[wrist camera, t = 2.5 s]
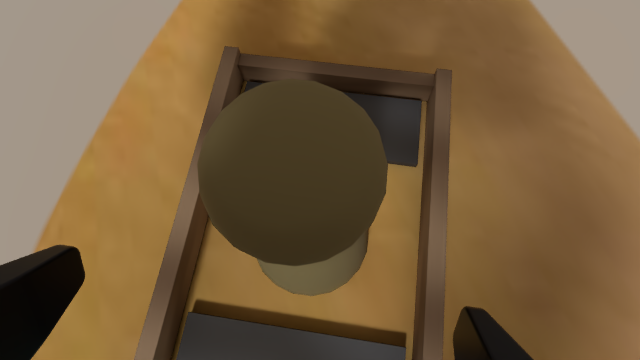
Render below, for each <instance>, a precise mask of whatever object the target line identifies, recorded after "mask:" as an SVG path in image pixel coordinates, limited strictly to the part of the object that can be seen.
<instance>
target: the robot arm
mask: <svg viewBox="0 0 640 360" xmlns="http://www.w3.org/2000/svg"><path fill="white" fill-rule="evenodd" d="M84 279H85V271H84V267H83V263H82V259H81V256H80V252H79V250H78V249H77V248H76V247H73V246H67V245H56V246H53V247H50V248H47V249H44V250H42V251H39V252H36V253H33V254H30V255H28V256H25V257H22V258H19V259H17V260H14V261H11V262H9V263H6V264H3V265H0V360H31V358H32V357H33V356H34V355H35V353H36V352H37V351H38V349H39V348H40V347H41V345H42V344H43V343H44V341H45V340H46V339H47V337H48V336H49V334H50V333H51V331H52V330H53V328H54V327H55V325H56V324H57V322H58V321H59V319H60V318H61V316H62V315H63V313H64V312H65V310H66V309H67V307H68V306H69V304H70V302H71V301H72V299H73V298H74V296H75V295H76V293H77V292H78V290H79V289H80V287H81V286H82V284H83V282H84ZM453 347H454V356H455V360H533V359H532V358H531V357H530V356H529V355H528V354H527V353H526V351H525V350H524V349H523V348H522V347H521V346H520V345H519V344H518V343H517V342H516V341H515V340H514V339H513V338H512V337H511V336H510V335H509V334H508V333H507V332H506V331H505V330H504V329H503V328H502V327H501V326H500V325H499V324H498V323H497V322H496V321H495V320H494V319H493V318H492V317H491V316H490V315H489V314H488V313H487V312H486V311H485V310H484V309H481V308H476V307H469V306H466V307H464V308H463V309H462V310H461V313H460V316H459V319H458V322H457V325H456V327H455V330H454V334H453Z"/></svg>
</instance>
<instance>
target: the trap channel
mask: <svg viewBox="0 0 640 360" xmlns="http://www.w3.org/2000/svg"><path fill="white" fill-rule="evenodd" d="M285 79H298V80H309V81H316V82H318V83H321V84H323V85H326V86H329V87H331V88H334V89H336V90H339V91H343V93H344V94H345V95H347V96H348V97H349V98H351V99H352V100H353V101H354V102H356V103H357V104H358V105H359V106H361V107H362V108H363V109H364V110H365V111H366V113H367V114H368V116H369V117H370V119H371V120H372V122H373V123H374V125H375V126H376V127H377V129H378V130H379V133H380V137H381V141H382V144H383V148H384V152H385V155H386V159H387V163H389V164H397V165H405V166H413V167H416V166H417V164H418V150H419V134H420V118H421V102H422V101H427V111H426V128H425V146H424V163H423V181H422V198H421V216H420V233H419V250H418V268H417V285H416V303H415V320H414V337H413V355H412V360H443V330H444V299H445V268H446V237H447V206H448V174H449V143H450V112H451V81H452V70H445V69H437V70H436V72H435V74H428V73H418V72H409V71H400V70H390V69H381V68H372V67H362V66H353V65H344V64H334V63H325V62H316V61H306V60H297V59H288V58H278V57H269V56H260V55H250V54H241V53H240V51H239V48H237V47H228V46H225V47H224V51H223V54H222V58H221V61H220V65H219V68H218V72H217V75H216V79H215V82H214V85H213V89H212V92H211V96H210V99H209V103H208V106H207V110H206V113H205V116H204V120H203V123H202V127H201V130H200V134H199V137H198V141H197V144H196V147H195V151H194V154H193V158H192V161H191V165H190V168H189V172H188V175H187V178H186V182H185V185H184V189H183V192H182V196H181V199H180V203H179V206H178V209H177V213H176V216H175V220H174V223H173V227H172V230H171V234H170V237H169V241H168V244H167V247H166V251H165V254H164V258H163V261H162V265H161V268H160V272H159V275H158V278H157V282H156V285H155V289H154V292H153V296H152V299H151V303H150V306H149V309H148V313H147V316H146V320H145V323H144V327H143V330H142V334H141V337H140V340H139V344H138V347H137V351H136V354H135V358H134V360H171V357H172V354H173V350H174V346H175V342H176V338H177V334H178V330H179V326H180V323H181V319H182V315H183V311H184V307H185V303H186V299H187V296H188V292H189V288H190V284H191V280H192V276H193V272H194V269H195V265H196V261H197V257H198V253H199V249H200V245H201V242H202V238H203V234H204V230H205V226H206V222H207V218H208V213H207V210H206V208H205V206H204V204H203V201H202V199H201V196H200V192H199V181H198V167H197V163H198V159H199V155H200V151H201V148H202V144H203V140H204V137H205V135H206V134H207V132H208V131H209V129H210V127H211V126H212V124H213V123H214V121H215V120H216V118H217V117H218V115H219V114H220V112H221V111H222V110H223V109H224V108H225V107H226V106H228V105H229V104H230V103H231V102H232V101H233V100H235V99H236V98H237V97H238V96H239V95H240V91H241V87H242V83H243V80H245V81H247V84H246V88H245V92H246V91H248V90H250V89H253V88H255V87H257V86H259V85H261V84H263V83H267V82H273V81H279V80H285ZM249 81H254V82H249ZM258 82H263V83H258ZM347 92H351V93H347ZM356 93H360V94H356ZM365 94H369V95H365ZM373 95H378V96H373ZM382 96H387V97H382ZM391 97H396V98H391ZM400 98H405V99H400ZM409 99H414V100H409ZM418 100H422V101H418ZM405 355H406V348H405V347H402V346H395V345H389V344H383V343H377V342H371V341H365V340H359V339H353V338H347V337H340V336H334V335H328V334H322V333H316V332H310V331H304V330H298V329H291V328H285V327H279V326H273V325H267V324H261V323H255V322H249V321H243V320H236V319H230V318H224V317H218V316H212V315H206V314H200V313H194V312H188V316H187V320H186V323H185V327H184V331H183V335H182V339H181V343H180V347H179V351H178V355H177V359H176V360H405Z"/></svg>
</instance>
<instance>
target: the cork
mask: <svg viewBox="0 0 640 360" xmlns="http://www.w3.org/2000/svg"><path fill="white" fill-rule="evenodd" d="M197 167H198V181H199V192H200V196H201V199H202V201H203V204H204V206H205V208H206V210H207V213H208V215H209V217H210V219H211V221H212V224H213V225H214V227H215V228H216V229H217V230H218V231H219V232H220V233H221V234H222V235H223V236H224V237H225V238H226V239H227V240H228V241H229V242H230V243H231V244H232V245H233V246H234V247H236V248H237V249H239V250H241V251H243V252H245V253H247V254H249V255H251V256H253V257H255V258H257V260H258V262H259V264H260V266H261V268H262V271H263V272H264V273H265V274H266V275H267V276H268V277H269V278H270V279H271V280H272V281H273V282H274V283H275V284H276V285H277V286H279V287H281V288H283V289H285V290H287V291H289V292H291V293H294V294H301V295H308V296H314V295H319V294H324V293H329V292H332V291H333V290H335V289H337V288H339V287H340V286H342V285H344V284H346V283H347V282H348V281H349V280H350V279H351V278H352V276H353V275H354V274H355V273H356V272H357V271H358V270H359V268H360V266H361V264H362V261H363V259H364V257H365V254H366V252H367V243H368V228H369V227H370V226H371V224H372V223H373V221H374V219H375V217H376V214H377V212H378V210H379V207H380V205H381V203H382V201H383V198H384V196H385V194H386V183H387V170H388V163H387V159H386V155H385V152H384V148H383V144H382V141H381V137H380V133H379V130H378V129H377V127H376V126H375V125H374V123H373V122H372V120H371V119H370V117H369V116H368V114H367V113H366V111H365V110H364V109H363V108H362V107H361V106H359V105H358V104H357V103H356V102H354V101H353V100H352V99H351V98H349V97H348V96H347V95H345V94H344V93H343V92H341V91H339V90H336V89H334V88H331V87H329V86H326V85H323V84H321V83H318V82H316V81H309V80H298V79H285V80H279V81H273V82H267V83H263V84H261V85H259V86H257V87H255V88H253V89H250V90H248V91H246V92H244V93H242V94H240V95H239V96H238V97H237V98H236V99H235V100H233V101H232V102H231V103H230V104H229V105H228V106H226V107H225V108H224V109H223V110H222V111H221V112H220V114H219V115H218V117H217V118H216V120H215V121H214V123H213V124H212V126H211V127H210V129H209V131H208V132H207V134H206V135H205V137H204V140H203V144H202V148H201V151H200V155H199V159H198V163H197Z"/></svg>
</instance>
